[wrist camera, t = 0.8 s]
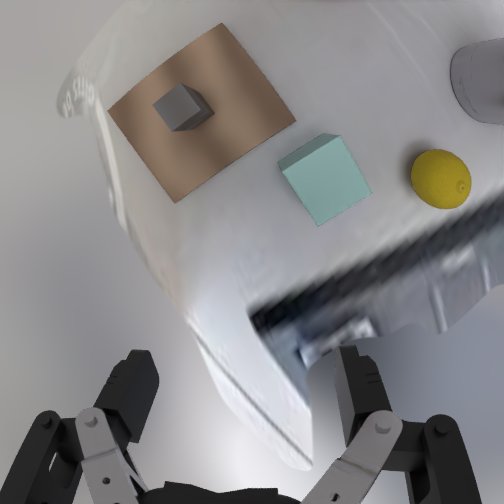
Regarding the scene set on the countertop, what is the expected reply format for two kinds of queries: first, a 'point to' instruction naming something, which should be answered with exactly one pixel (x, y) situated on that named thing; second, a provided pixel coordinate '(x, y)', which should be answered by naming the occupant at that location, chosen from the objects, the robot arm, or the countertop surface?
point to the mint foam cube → (325, 177)
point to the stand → (200, 112)
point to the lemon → (441, 179)
